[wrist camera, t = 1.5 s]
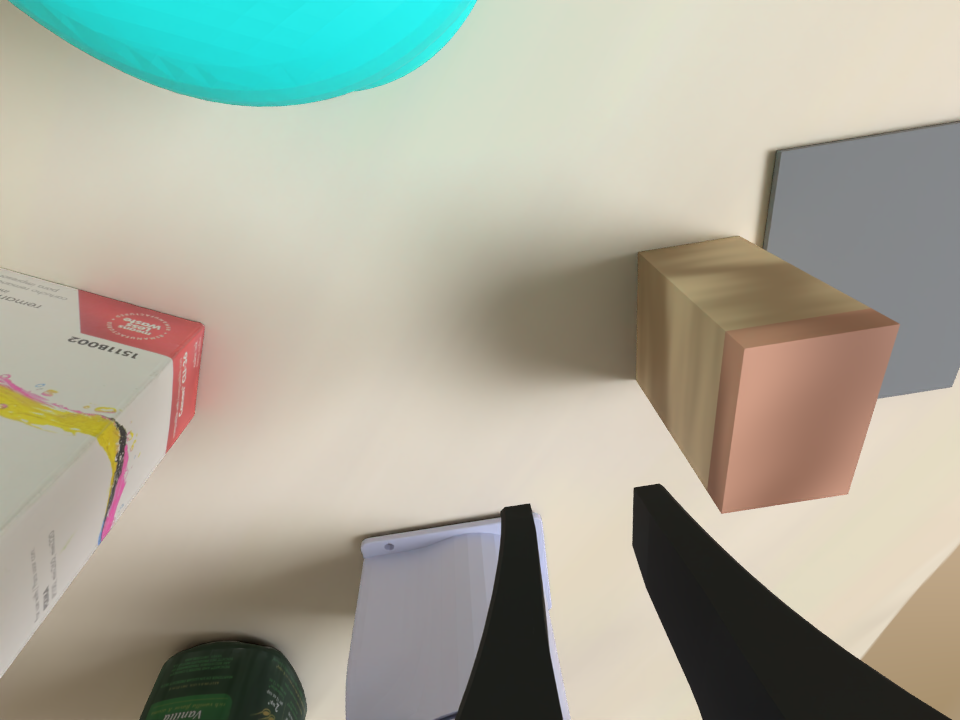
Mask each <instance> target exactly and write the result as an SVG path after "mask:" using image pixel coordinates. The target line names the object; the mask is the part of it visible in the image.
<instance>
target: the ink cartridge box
mask: <svg viewBox="0 0 960 720" xmlns="http://www.w3.org/2000/svg"><path fill="white" fill-rule="evenodd" d="M203 337H204V325H203V324H202V323H200V322H193V321H189V320H186V319H182V318H178V317H175V316H171V315H167V314H164V313H160V312H157V311H153V310H149V309H146V308H142V307H138V306H135V305H132V304H128V303H125V302H121V301H117V300H114V299H110V298H106V297H103V296H99V295H96V294H92V293H89V292H85V291H82V290H78V289H75V288H71V287H68V286H64V285H60V284H57V283H53V282H49V281H46V280H42V279H39V278H35V277H32V276H28V275H25V274H21V273H18V272H14V271H11V270H7V269H4V268H0V679H1V677H2V676H3V675H4V673H5V672H6V670H7V669H8V668H9V666H10V665H11V664H12V662H13V661H14V660H15V658H16V657H17V656H18V654H19V653H20V652H21V650H22V649H23V647H24V646H25V645H26V643H27V642H28V641H29V639H30V638H31V637H32V635H33V634H34V633H35V631H36V630H37V629H38V627H39V626H40V625H41V623H42V622H43V621H44V619H45V618H46V617H47V615H48V614H49V613H50V611H51V610H52V608H53V607H54V606H55V604H56V603H57V602H58V600H59V599H60V598H61V596H62V595H63V593H64V592H65V591H66V589H67V588H68V587H69V585H70V584H71V582H72V581H73V580H74V578H75V577H76V576H77V575H78V573H79V572H80V570H81V569H82V568H83V566H84V565H85V564H86V562H87V561H88V560H89V558H90V557H91V555H92V554H93V553H94V551H95V550H96V548H97V547H98V545H99V544H100V543H101V541H102V540H103V539H104V537H105V536H106V535H107V533H108V532H109V531H110V530H111V528H112V527H113V526H114V524H115V523H116V522H117V520H118V519H119V517H120V516H121V515H122V513H123V512H124V510H125V509H126V508H127V506H128V505H129V504H130V502H131V501H132V500H133V498H134V497H135V496H136V494H137V493H138V492H139V490H140V489H141V488H142V486H143V485H144V483H145V482H146V481H147V479H148V478H149V476H150V475H151V473H152V472H153V471H154V469H155V468H156V466H157V465H158V464H159V463H160V461H161V460H162V459H163V458H164V456H165V454H166V453H167V452H168V450H169V449H170V448H171V446H172V445H173V444H174V442H175V441H176V440H177V438H178V437H179V436H180V434H181V433H182V431H183V430H184V429H185V427H186V426H187V425H188V423H189V422H190V421H191V419H192V418H193V416H194V414H195V404H196V395H197V385H198V377H199V369H200V361H201V352H202V345H203Z"/></svg>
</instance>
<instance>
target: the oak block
mask: <svg viewBox="0 0 960 720" xmlns="http://www.w3.org/2000/svg"><path fill="white" fill-rule="evenodd" d="M899 326H900V324H899V323H897V322H895V321H894V320H892V319H890V318H888V317H886V316H885V315H883V314H881V313H879V312H877V311H875V310H874V309H872V308H870V307H868V306H866V305H864V304H863V303H861V302H859V301H857V300H855V299H853V298H852V297H850V296H848V295H846V294H844V293H843V292H841V291H839V290H837V289H835V288H833V287H832V286H830V285H828V284H826V283H824V282H822V281H821V280H819V279H817V278H815V277H813V276H811V275H810V274H808V273H806V272H804V271H802V270H800V269H799V268H797V267H795V266H793V265H791V264H790V263H788V262H786V261H784V260H782V259H780V258H779V257H777V256H775V255H773V254H771V253H769V252H768V251H766V250H764V249H762V248H760V247H758V246H757V245H755V244H753V243H751V242H749V241H748V240H746V239H744V238H742V237H740V236H735V237H729V238H723V239H717V240H711V241H704V242H698V243H692V244H686V245H679V246H673V247H667V248H661V249H654V250H648V251H642V252H638V287H637V349H636V381H637V382H638V384H639V385H640V387H641V388H642V390H643V392H644V393H645V395H646V396H647V398H648V399H649V401H650V402H651V404H652V406H653V407H654V409H655V410H656V412H657V413H658V415H659V417H660V418H661V420H662V421H663V423H664V424H665V426H666V428H667V429H668V431H669V432H670V434H671V435H672V437H673V438H674V440H675V442H676V443H677V445H678V446H679V448H680V449H681V451H682V453H683V454H684V456H685V457H686V459H687V460H688V462H689V464H690V465H691V467H692V468H693V470H694V471H695V473H696V474H697V476H698V478H699V479H700V481H701V482H702V484H703V485H704V487H705V489H706V490H707V492H708V493H709V495H710V496H711V498H712V499H713V501H714V503H715V504H716V506H717V507H718V509H719V510H720V512H721V514H723V513H729V512H736V511H742V510H749V509H755V508H761V507H768V506H774V505H781V504H787V503H794V502H800V501H807V500H813V499H820V498H826V497H832V496H839V495H845V494H848V492H849V489H850V485H851V482H852V479H853V476H854V472H855V469H856V466H857V463H858V460H859V456H860V453H861V450H862V447H863V443H864V440H865V437H866V434H867V430H868V427H869V424H870V421H871V417H872V414H873V411H874V408H875V404H876V401H877V398H878V395H879V391H880V388H881V385H882V382H883V378H884V375H885V372H886V369H887V365H888V362H889V359H890V356H891V352H892V349H893V346H894V343H895V339H896V336H897V333H898V330H899Z"/></svg>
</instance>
